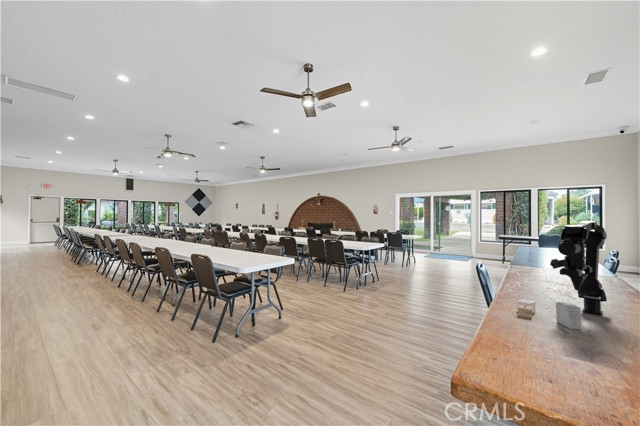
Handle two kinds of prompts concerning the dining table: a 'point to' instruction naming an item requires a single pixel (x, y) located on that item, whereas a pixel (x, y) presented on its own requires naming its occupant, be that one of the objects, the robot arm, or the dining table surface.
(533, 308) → the grey block
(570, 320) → the medicine box
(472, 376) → the dining table surface
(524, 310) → the oak block
